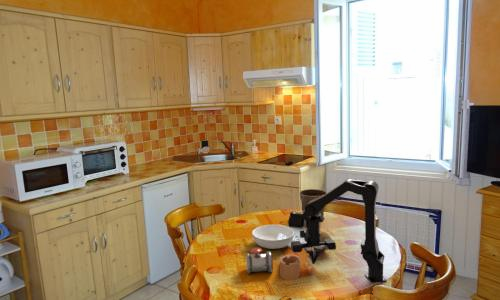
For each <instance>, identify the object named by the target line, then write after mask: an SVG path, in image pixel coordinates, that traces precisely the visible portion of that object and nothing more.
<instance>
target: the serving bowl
mask: <svg viewBox="0 0 500 300" xmlns="http://www.w3.org/2000/svg"><path fill="white" fill-rule="evenodd" d="M279 233H282V234H284V235H286V236H287V237H288V238H286V239H282V240H277V239H276V238H277V235H278V234H279ZM251 235H252V238H253V241H254V242H255V243H256V245H258V246H260V247H261V248H264V249H269V250H270V249H274V250H276V249H282V248H284V247H287V246H289V245H291V242H292V241H293V240H294V236H295V232H294V229H292V227H289V226H285V225H280V224H264V225H261V226H256V228H254V229H253V230H252V232H251Z"/></svg>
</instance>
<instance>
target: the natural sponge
mask: <svg viewBox="0 0 500 300" xmlns="http://www.w3.org/2000/svg"><path fill="white" fill-rule="evenodd" d="M324 239H332V237H331V236H330V234H329V233H328V232H326V231H325V230H324V231H321V230H320V242H323V240H324ZM322 250H323V252H322V253H324V252H326V251H327V250H329V249H328V248H327V246H326V247H322Z"/></svg>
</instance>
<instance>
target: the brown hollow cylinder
mask: <svg viewBox="0 0 500 300" xmlns="http://www.w3.org/2000/svg"><path fill="white" fill-rule="evenodd" d="M279 276H280V278H281V279H284V280H286V281H294V280H298V278H300V276H301V258H300V256H299V255H295V254H284V255H283V256H281V257H280V258H279Z"/></svg>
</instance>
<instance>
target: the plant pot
mask: <svg viewBox="0 0 500 300" xmlns="http://www.w3.org/2000/svg"><path fill="white" fill-rule="evenodd" d="M298 193H299V196H300V201H301V203H300V204H301V211H302V212H301V213H303V212H304V211H305V206H306V205H307V204H308V203H309V202H310V201H311V200H313V199H316V198H318V197H321V196H324V195H325V194H327V193H328V192H327V191H325V190H323V189H316V188H315V189H314V188H310V189H302V190H299V192H298ZM320 214H321V216H323V217H324V214H325V207H324V208H323V209H322V210H321V211H320V212H319V213H318V214H317V215H315V216H319V215H320ZM309 217H311V216H309ZM324 218H325V217H324Z"/></svg>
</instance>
